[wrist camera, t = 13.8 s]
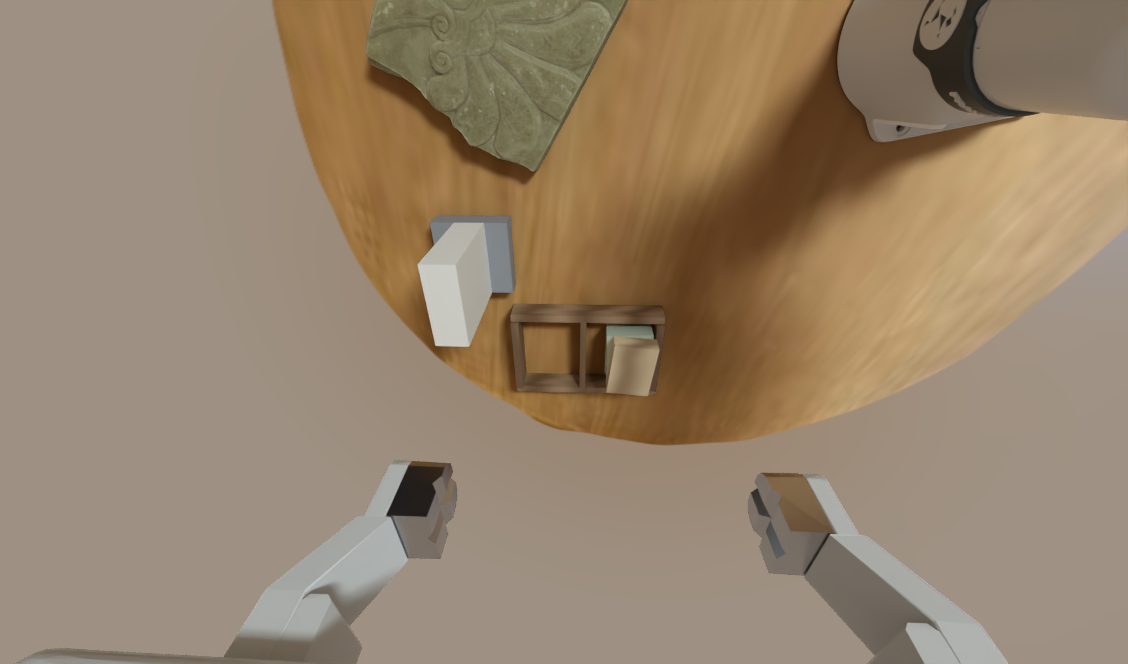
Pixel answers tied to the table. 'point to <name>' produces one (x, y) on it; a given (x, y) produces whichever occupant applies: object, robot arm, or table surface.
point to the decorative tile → (495, 63)
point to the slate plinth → (488, 246)
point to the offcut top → (631, 365)
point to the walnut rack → (582, 316)
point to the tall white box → (456, 283)
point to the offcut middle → (626, 332)
